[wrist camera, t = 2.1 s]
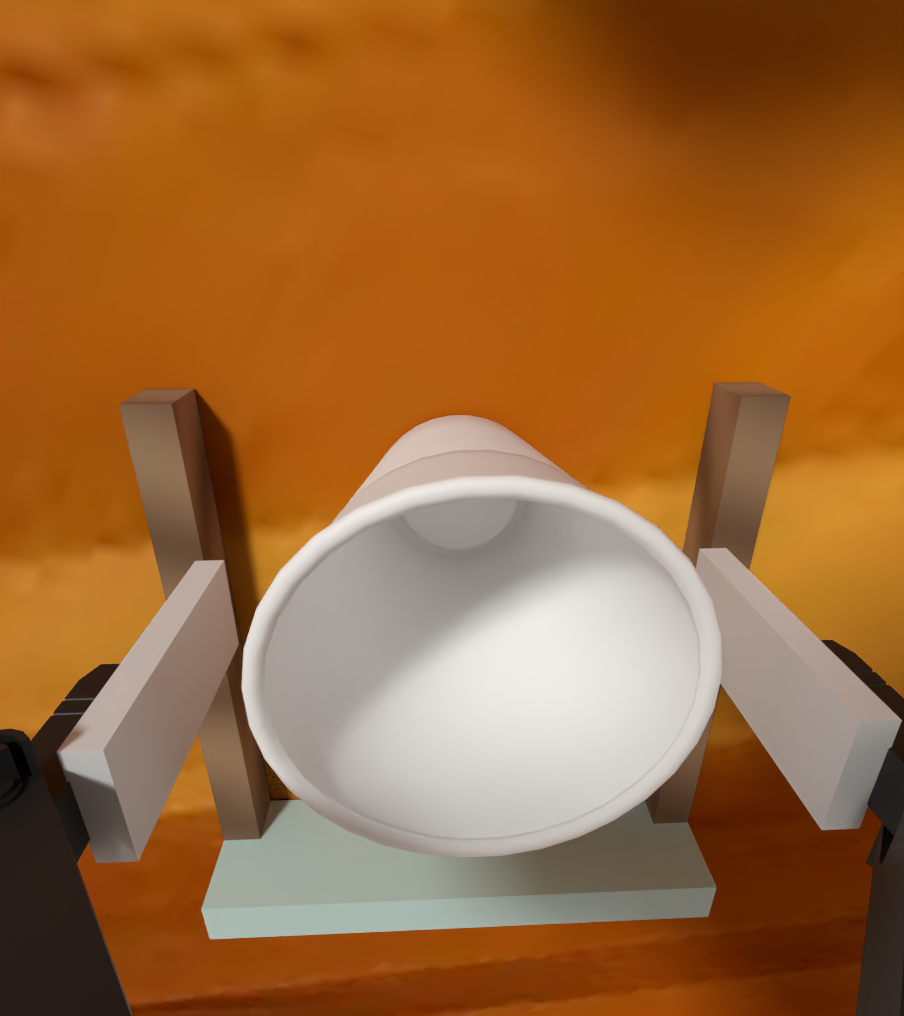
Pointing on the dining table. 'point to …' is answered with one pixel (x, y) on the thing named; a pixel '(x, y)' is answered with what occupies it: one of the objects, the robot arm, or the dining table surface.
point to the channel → (197, 537)
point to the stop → (448, 880)
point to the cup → (480, 652)
